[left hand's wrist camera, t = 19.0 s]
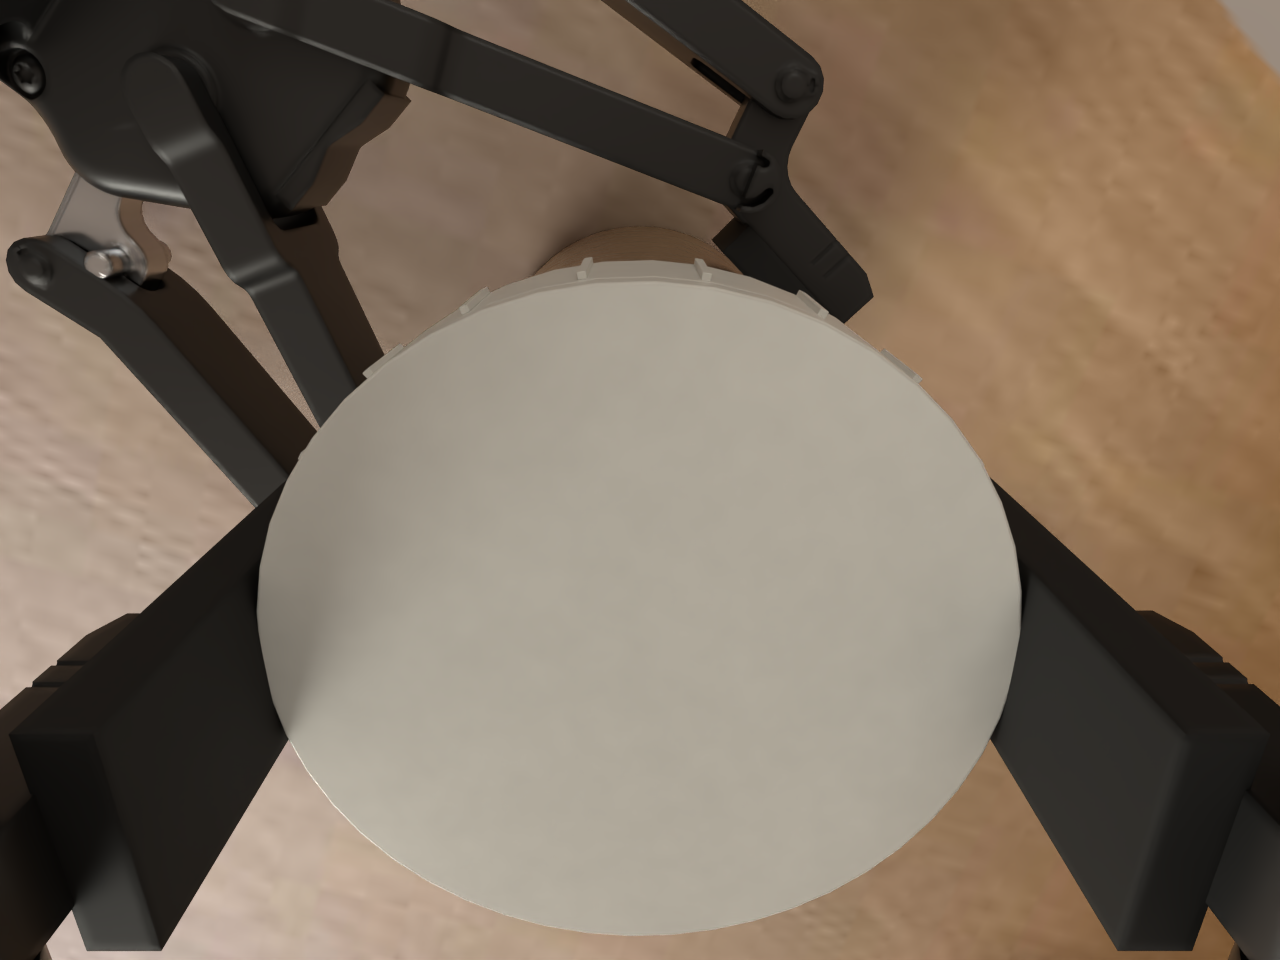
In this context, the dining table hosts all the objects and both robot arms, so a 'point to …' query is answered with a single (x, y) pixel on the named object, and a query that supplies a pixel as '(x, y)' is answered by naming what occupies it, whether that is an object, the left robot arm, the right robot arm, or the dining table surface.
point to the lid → (639, 601)
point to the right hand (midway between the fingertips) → (767, 550)
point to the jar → (639, 249)
